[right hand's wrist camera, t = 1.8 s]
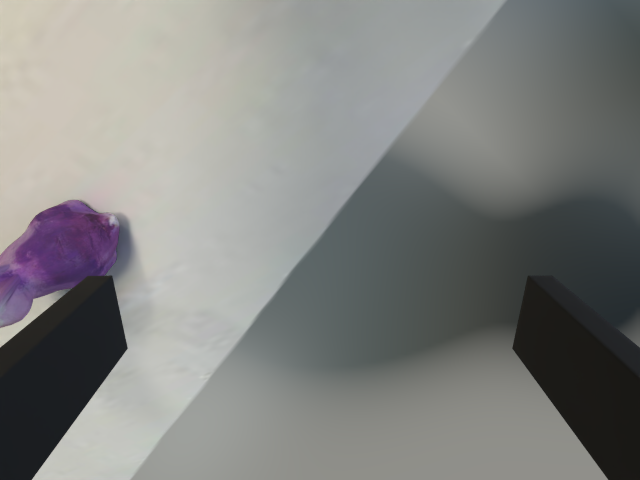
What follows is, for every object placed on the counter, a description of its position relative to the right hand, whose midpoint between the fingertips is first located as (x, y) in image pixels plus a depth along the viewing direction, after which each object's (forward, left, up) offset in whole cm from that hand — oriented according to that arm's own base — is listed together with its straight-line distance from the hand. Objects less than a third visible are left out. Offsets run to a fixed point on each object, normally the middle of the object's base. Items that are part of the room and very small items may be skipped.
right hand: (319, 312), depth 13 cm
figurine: (+9, -25, -28) cm, 39 cm away
